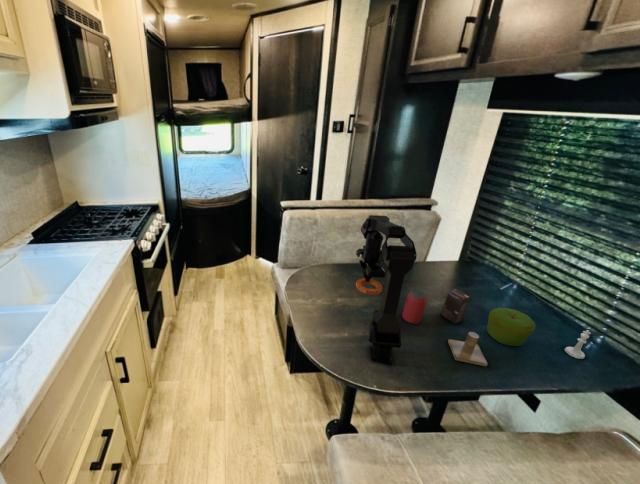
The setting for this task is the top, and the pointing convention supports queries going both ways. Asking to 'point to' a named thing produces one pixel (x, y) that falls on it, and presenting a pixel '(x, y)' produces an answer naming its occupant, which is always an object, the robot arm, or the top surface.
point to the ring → (366, 290)
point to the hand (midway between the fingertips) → (366, 280)
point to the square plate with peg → (468, 350)
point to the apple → (509, 326)
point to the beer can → (414, 306)
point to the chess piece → (578, 346)
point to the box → (455, 305)
